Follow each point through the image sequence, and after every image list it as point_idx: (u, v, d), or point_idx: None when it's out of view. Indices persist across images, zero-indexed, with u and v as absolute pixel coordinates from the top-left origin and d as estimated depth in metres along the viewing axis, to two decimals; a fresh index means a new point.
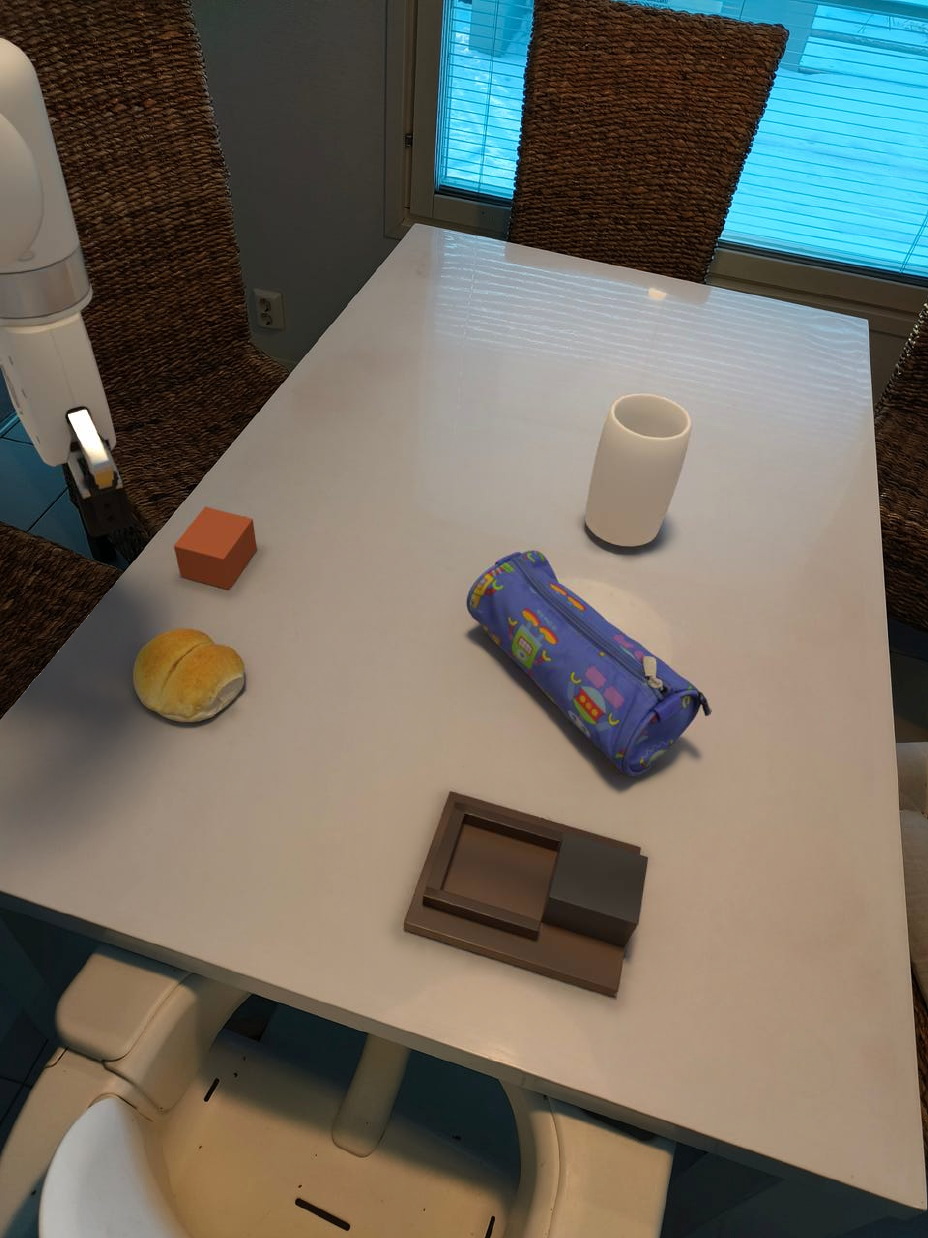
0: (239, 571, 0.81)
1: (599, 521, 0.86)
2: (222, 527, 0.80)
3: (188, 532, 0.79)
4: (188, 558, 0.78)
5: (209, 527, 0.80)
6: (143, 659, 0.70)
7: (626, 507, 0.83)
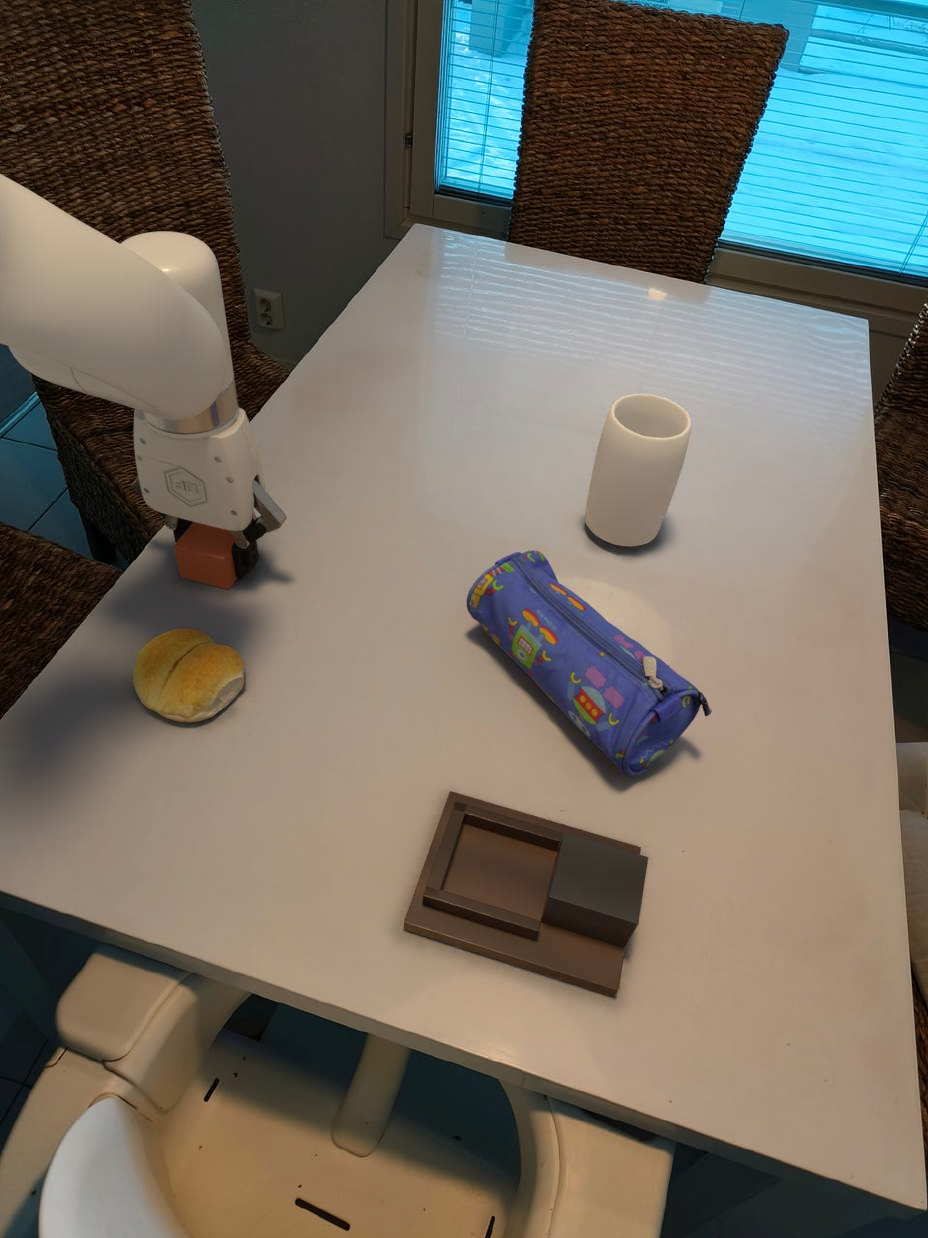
0: None
1: (599, 521, 0.86)
2: None
3: (188, 532, 0.79)
4: (188, 558, 0.78)
5: (209, 527, 0.80)
6: (143, 659, 0.70)
7: (626, 507, 0.83)
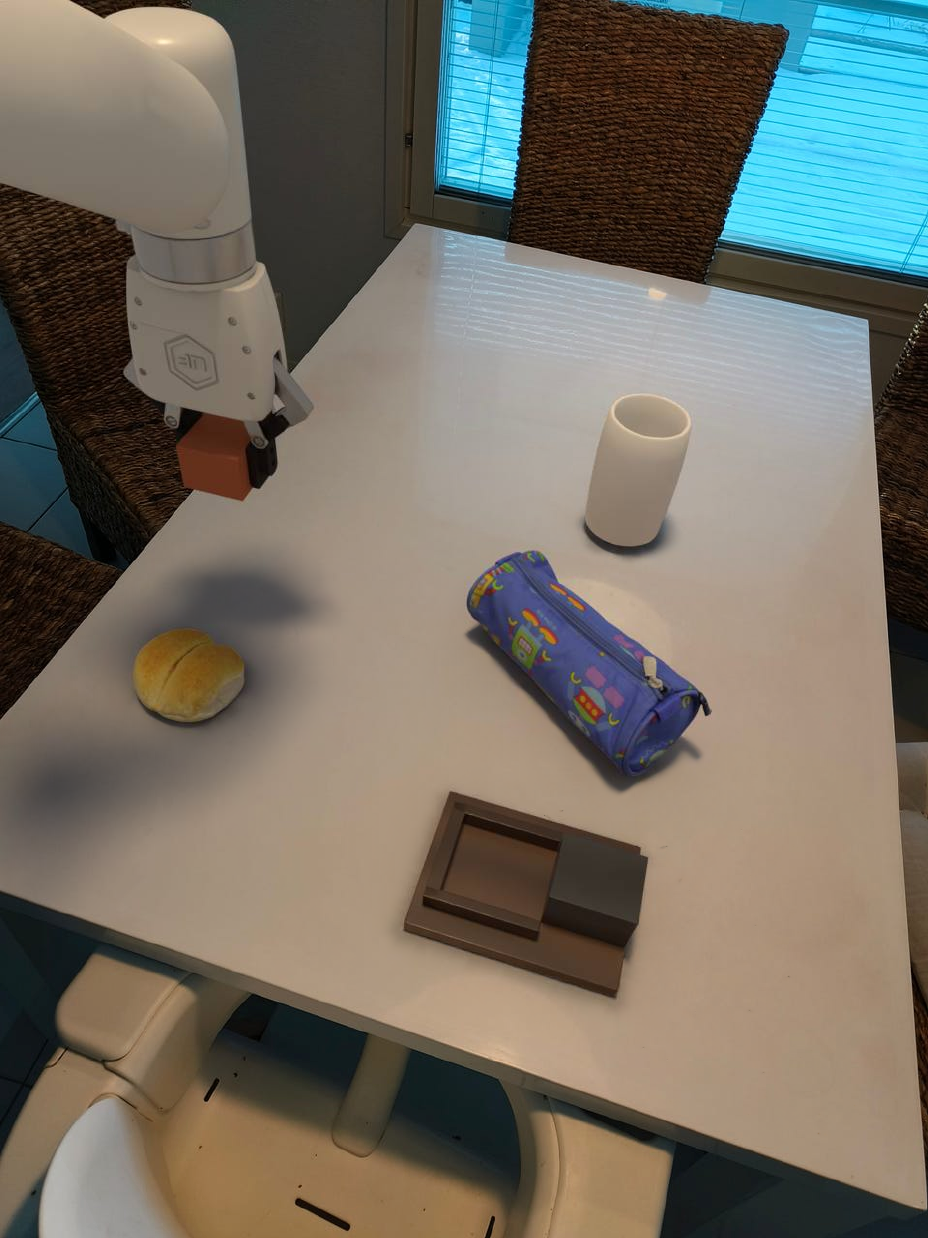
0: None
1: (599, 521, 0.86)
2: (233, 426, 0.66)
3: (193, 431, 0.65)
4: (193, 461, 0.65)
5: (219, 426, 0.66)
6: (143, 659, 0.70)
7: (626, 507, 0.83)
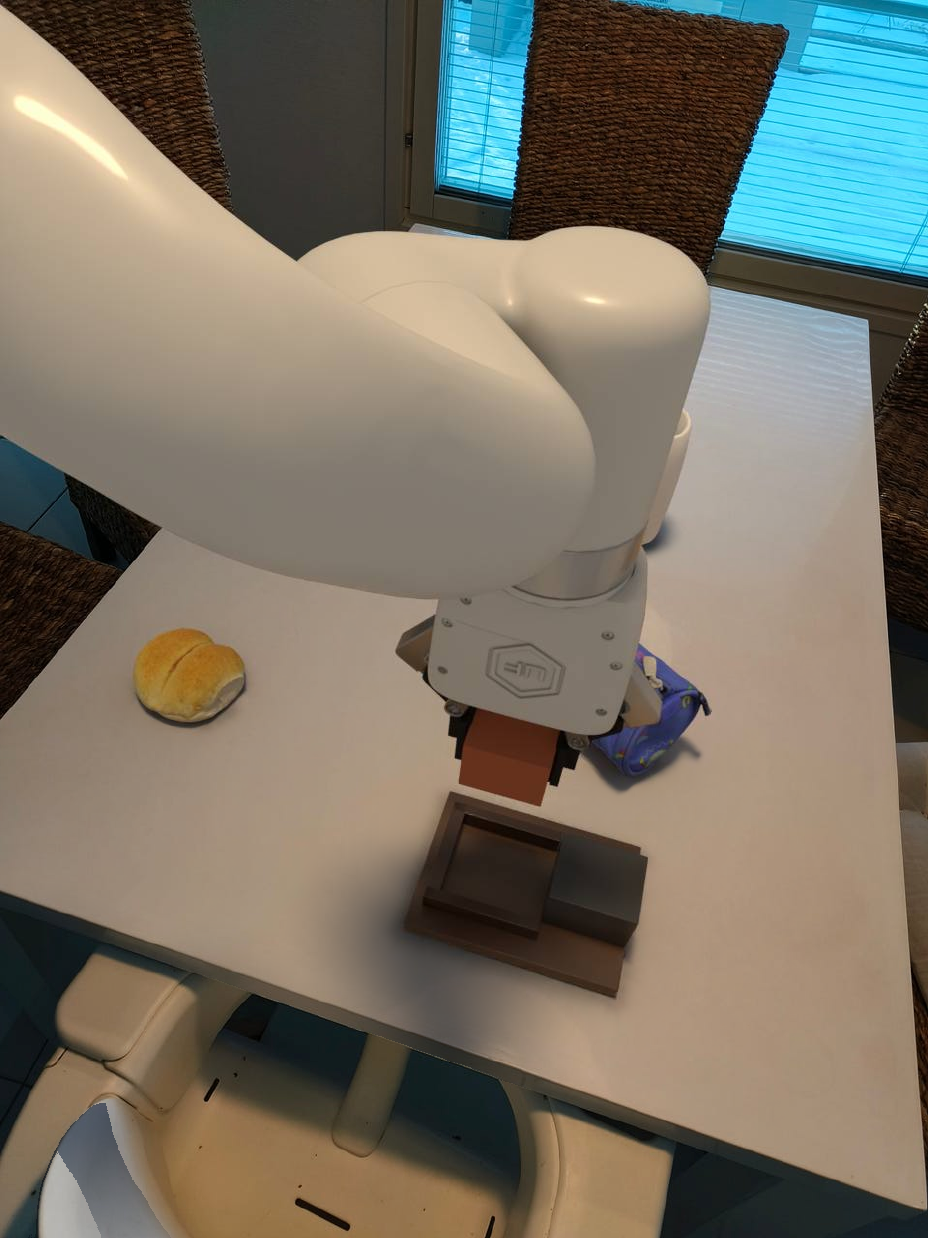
0: None
1: None
2: None
3: (479, 718, 0.48)
4: (483, 763, 0.48)
5: None
6: (143, 659, 0.70)
7: None
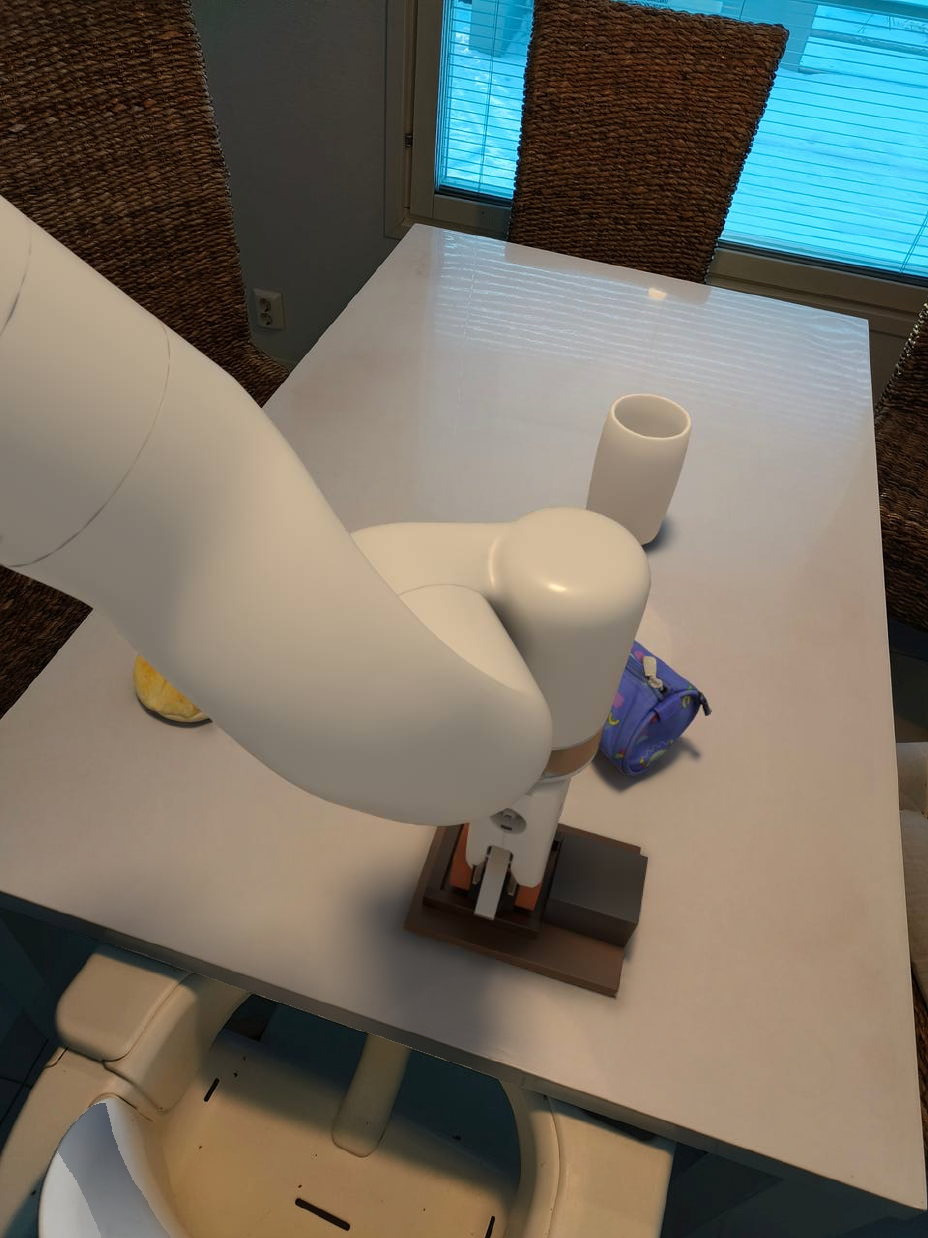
0: None
1: None
2: None
3: None
4: None
5: None
6: (143, 659, 0.70)
7: (626, 507, 0.83)
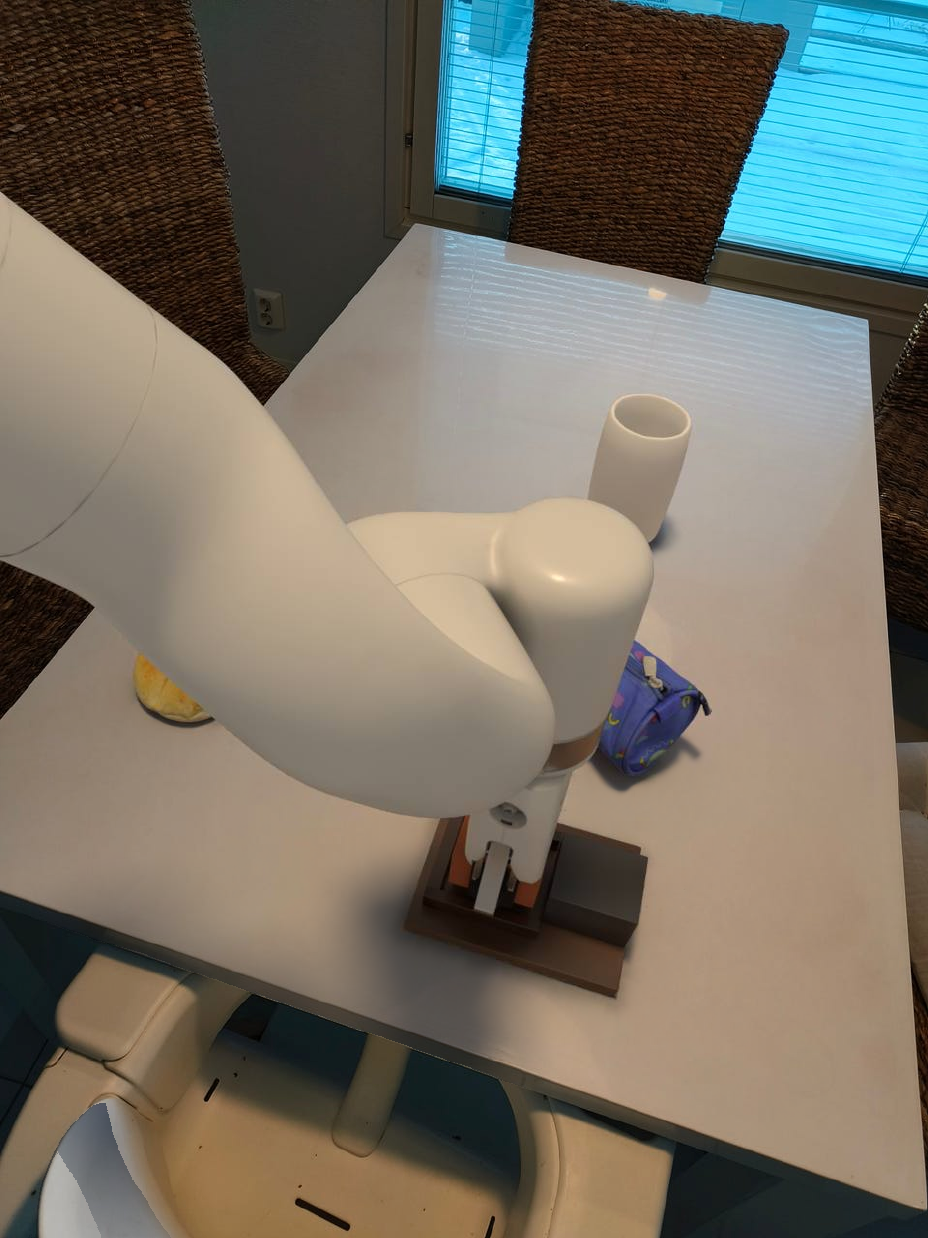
0: None
1: None
2: None
3: None
4: None
5: None
6: (143, 659, 0.70)
7: (626, 507, 0.83)
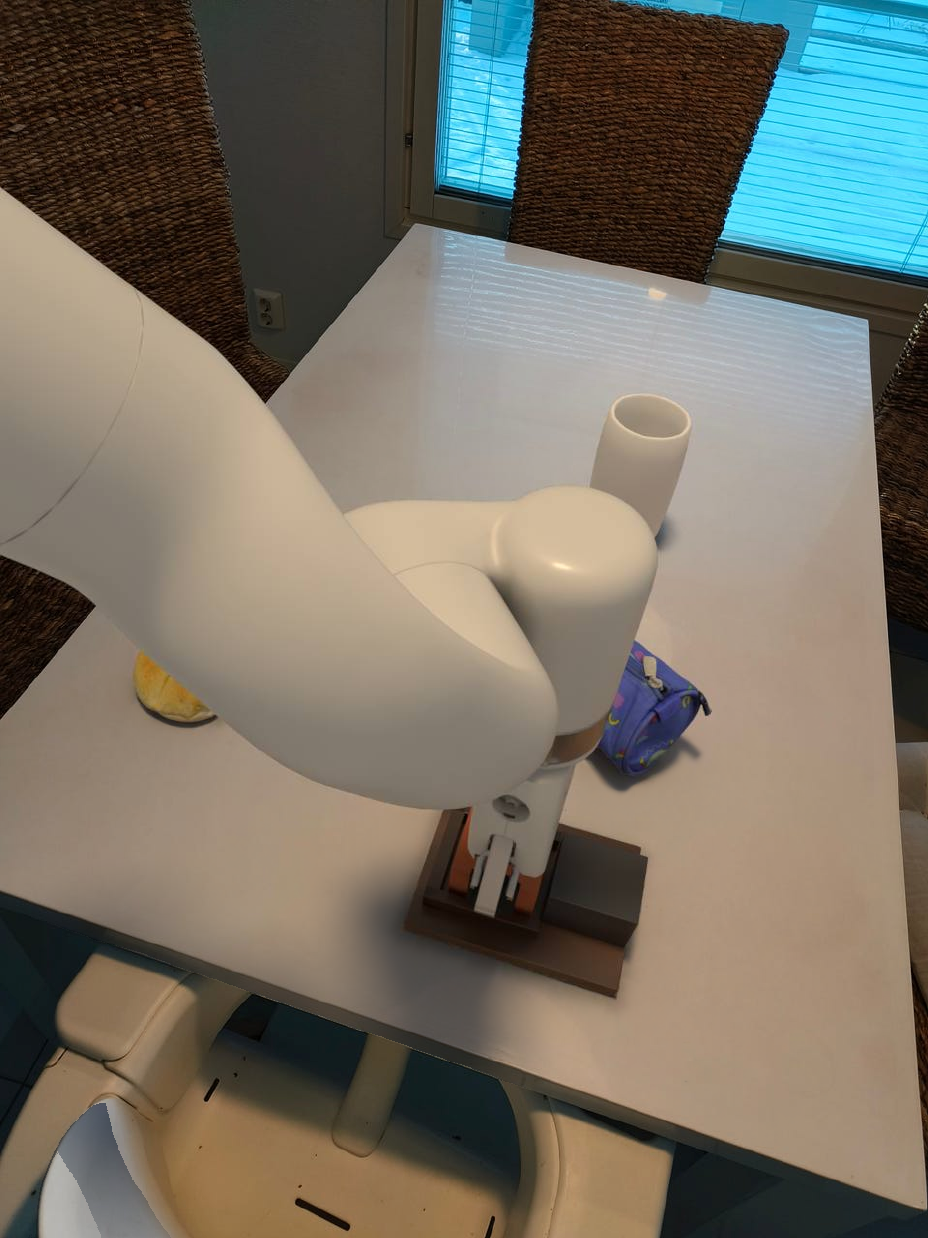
0: None
1: None
2: None
3: None
4: None
5: None
6: (143, 659, 0.70)
7: None
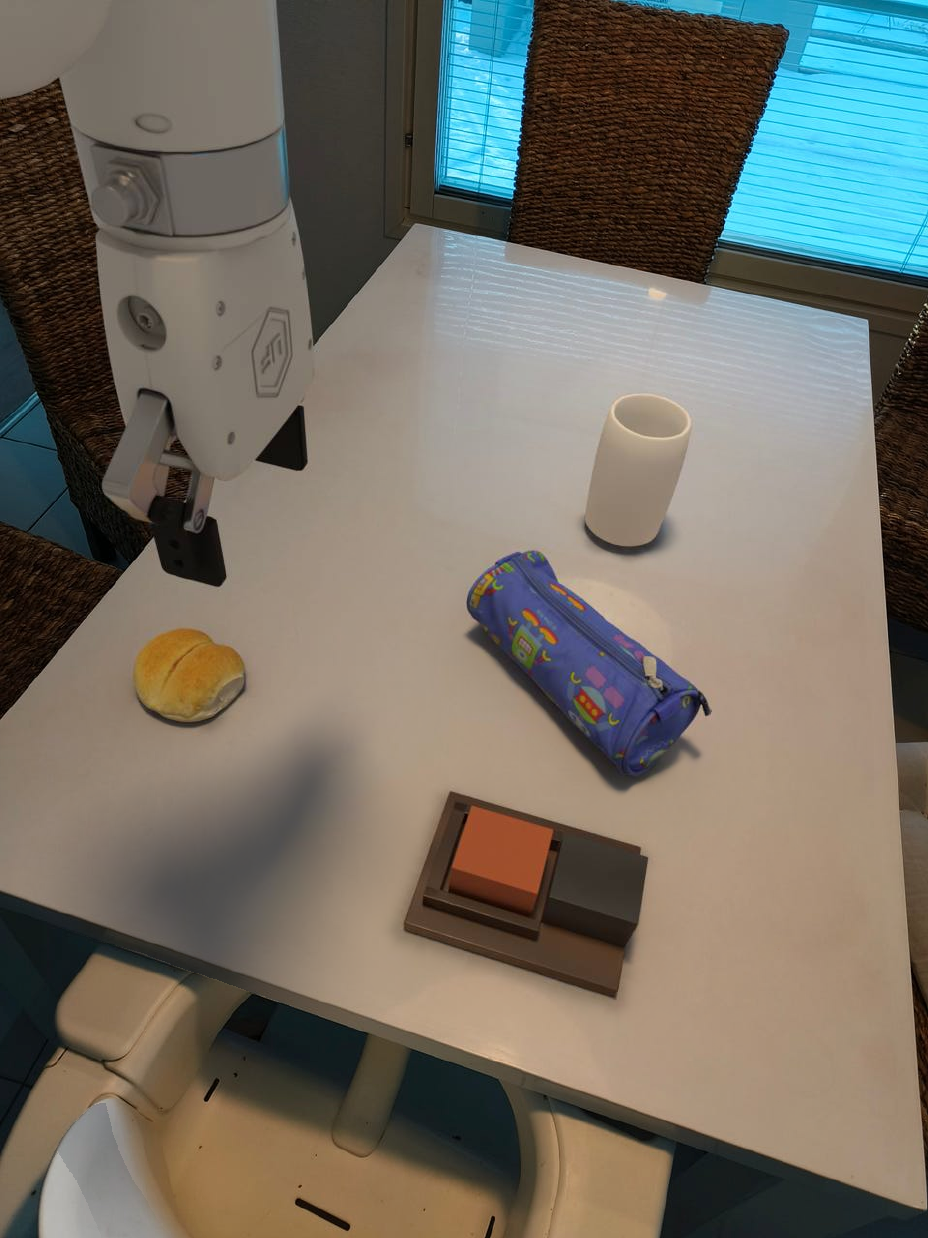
0: None
1: (599, 521, 0.86)
2: (493, 839, 0.59)
3: (508, 879, 0.57)
4: None
5: (496, 854, 0.58)
6: (143, 659, 0.70)
7: (626, 507, 0.83)
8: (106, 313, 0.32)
